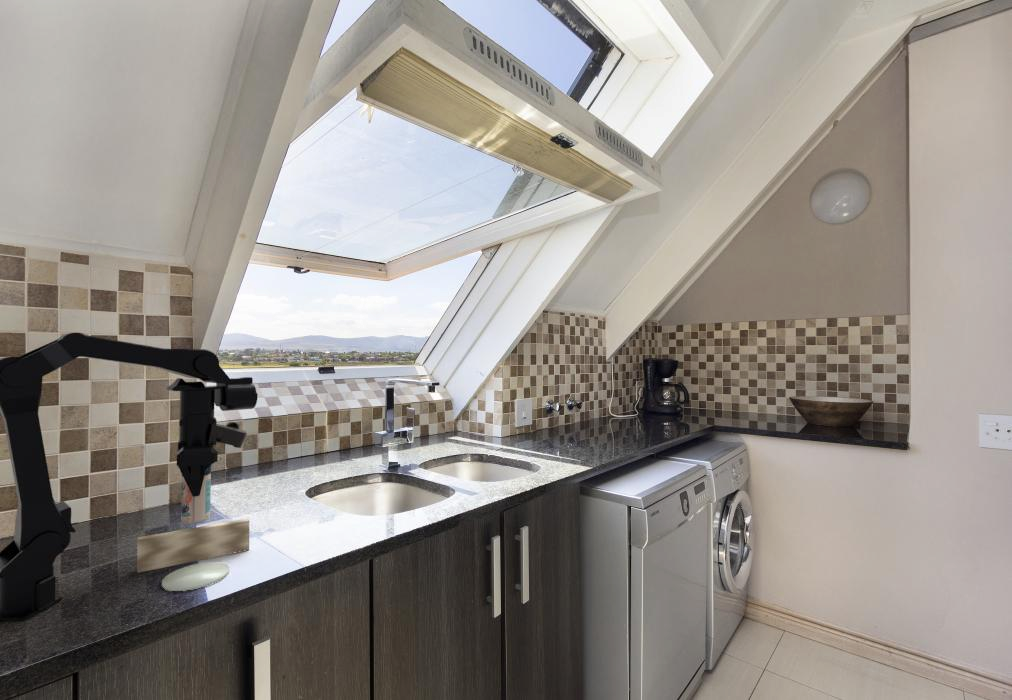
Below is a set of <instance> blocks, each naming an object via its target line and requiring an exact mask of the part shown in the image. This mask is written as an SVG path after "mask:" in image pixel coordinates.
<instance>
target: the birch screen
mask: <svg viewBox="0 0 1012 700" xmlns="http://www.w3.org/2000/svg"><path fill="white" fill-rule="evenodd" d="M136 542H137V546H136V547H137V548H136V550H137V551H136V557H137V558H136V560H137V562H136V563H137V564H136V567H137V568H136V569H137V570H136V571H137V574H139V573H144V572H148V571H153V570H159V569H164V568H168V567H172V566H178V565H182V564H188V563H192V562H198V561H201V560H202V559H203V560H207V559H206V558H208V559H212V558H211V557H213V558H216V557H217V556H218V557H222V556H221V555H223V556H227V555H226V554H228V555H231V554H230V553H233V554H235V553H234V552H238V553H240V552H239V551H243V552H245V551H244V550H248V551H250V518H244V519H238V520H237V519H236V520H233V521H226V522H221V523H214V524H209V525H202V526H198V527H197V526H195V527H189V528H185V529H179V530H178V529H177V530H173V531H169V532H161V533H156V534H151V535H150V534H148V535H144V536H139V537H137V541H136ZM218 557H217V558H218ZM203 560H202V561H203Z"/></svg>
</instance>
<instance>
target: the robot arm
mask: <svg viewBox="0 0 1012 700" xmlns="http://www.w3.org/2000/svg"><path fill="white" fill-rule="evenodd" d="M79 357H80V358H86V359H87V358H88V359H95V360H102V361H110V362H116V363H124V364H129V365H137V366H142V367H143V366H144V367H152V368H155V369H159V370H162V371H166V372H168V373H171V374H175V375H177V376H181V377H185V378H189V379H198V380H200V381H186V380H184V379H183V378H178V377H177V378H176V379H175V381H174V382H172V383H171V384H170V385H169V386H167V387H166V390H167V391H173V392H179V417H178V419H179V421H178V426H179V429H178V441H177V452H176V466H177V468H178V469H179V470H180V473H181V476H182V475H183V477H184V479H185V481H186V483H187V486H188V488H189V490H190V492H191V494H192V496H193V497H196V496H199V495H200V492H201V488H202V484H203V480H204V476H205V472H206V469H207V468H208V467H210V466H211V467H212V465H214V464H215V463H217V462H218V452H219V451H218V448H216V447H215V446H216V445H217V443H221V444H225V445H228V446H233V447H234V448H238V449H241V448H242V447H243V443H244V441H245V439H246V437H247V434H248V433H247V431H246V430H243V429H242V428H241V429H240V427H239V424H238V422H235V421H229V422H228V423H226V425H225V424H220V423H218V422H217V419H216V417H215V407H219V409H220V410H221V411H223V412H227V411H229V412H230V411H241V410H242V411H243V410H252V409H255V408H256V405H257V403H258V398H259V397H258V392H257V388H256V386H255V384H254V382H253V377H250V376H245V377H239V378H238V377H237V378H234V377H233V378H231V377H229V375H228V374H227V373H226V372H225V370H224V369H223V368H222V366H220V361H219V357H218V356H217V355H216V353H215V352H213V351H212V350H209V349H203V348H202V349H201V348H163V347H158V346H157V347H156V346H152V345H146V344H145V345H144V344H138V343H134V342H127V341H122V340H115V339H110V338H103V337H99V336H92V335H88V334H84V333H83V332H69V333H65V334H63V335H61V336H59V337H58V338H57V339H54V340H52V341H51V342H49V343H46V344H44V345H41V346H39V347H37V348H35V349H32V350H30V351H28V352H26V353H24V354H22V355H20V356H4V357H0V415H1V416H2V420H3V424H4V430H5V435H6V440H7V447H8V448H7V449H8V451H9V458H10V463H11V467H12V468H11V469H12V473H13V474H12V475H13V478H14V479H13V481H14V485H15V490H16V496H17V508H16V515H15V519H14V520H15V521H14V534H13V535H14V536H13V539H11V540H10V542H9V543H7V544H6V545H5V546H4V547H3V548H2V549H1V550H0V621H25V620H27V619H28V618H29V619H30V618H31V617H33V616H34V615H36V614H38V613H40V612H41V611H44V610H45V609H47V608H49V607H51V606H52V605H54V604H56V603H58V602H60V601H62V600H63V599H64V595H56V580H57V579H56V577H57V576H56V575H55V573H54V572H55V571H54V569H55V566H54V563H55V561H56V559H57V557H58V556H59V555H60V554H63V552H64V551H65V550H66V549H67V548H68V546H69V545H70V543H71V538H72V537H71V533H73V534H75V533H76V532H77V530H76V529H75V528H74V527H73V524H72V507H71V506H70V505H69V504H67V502H65V501H64V500H61V501H58V502H56V501H55V499H54V496H53V491H52V486H51V480H50V473H49V469H48V463H47V458H46V452H45V446H44V440H43V439H44V438H43V434H42V429H41V424H40V422H41V421H40V417H39V416H40V415H39V409H40V404H41V400H42V399H41V397H42V389H43V377H45V376H46V375H48V374H51V373H52V372H54V371H56V370H58V369H60V368H62V367H63V366H65V365H66V364H68V363H70V362H72V361H73V360H75V359H78V358H79ZM205 383H211V384H212V383H213V384H215V385H211V386H210V385H209V386H206V385H205Z"/></svg>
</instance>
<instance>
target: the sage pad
mask: <svg viewBox="0 0 1012 700" xmlns="http://www.w3.org/2000/svg"><path fill="white" fill-rule="evenodd" d="M229 573H230V566H229V565H228V564H227V563H224V562H221V561H207V562H200V563H195V564H191V565H187V566H185V567H181V568H179V569H176V570H174V571H172V572H170V573H169V574H167V575H166V576H165V577H163V578H162V581H161V588H162V587H163V588H164V589H165V591H167V590H168V591H167V592H172V591H183V592H188V591H187V590H191V591H195V590H194V589H196V590H199V589H198V588H200V589H202V588H201V587H203V588H205V587H204V586H206V587H208V586H207V585H209V586H211V585H210V584H212V583H214V584H216V583H218V582H220V581H222V580H223V579H225V578H226V577H227V576H228V575H229ZM227 574H228V575H227ZM226 575H227V576H226ZM225 576H226V577H225ZM224 577H225V578H224ZM222 578H223V579H222ZM221 579H222V580H221ZM219 580H220V581H219ZM217 581H218V582H217ZM215 582H216V583H215ZM212 585H213V584H212ZM163 588H162V589H163ZM164 589H163V590H164Z"/></svg>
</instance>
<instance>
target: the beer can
mask: <svg viewBox="0 0 1012 700" xmlns="http://www.w3.org/2000/svg"><path fill="white" fill-rule="evenodd" d="M211 480H212V465H211V466H210V467H208V468H207V469H206V472H205V476H204V480H203V484H202V488H201V492H200V495H199V496H196V497H193V496H192V494H191V492H190V490H189V488H188V486H187V483H186V481H185V479H184V477H183V475H182V474H181V489H180V490H181V496H180V497H181V498H180V499H181V501H180V502H181V503H180V508H181V509H180V522H181V523H184V524H185V525H197V524H202V523H204V522H206V521H207V520H208V519H209V518H210V517H211V495H212V494H211V493H212V491H211V489H212V487H211V485H212V484H211Z"/></svg>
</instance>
